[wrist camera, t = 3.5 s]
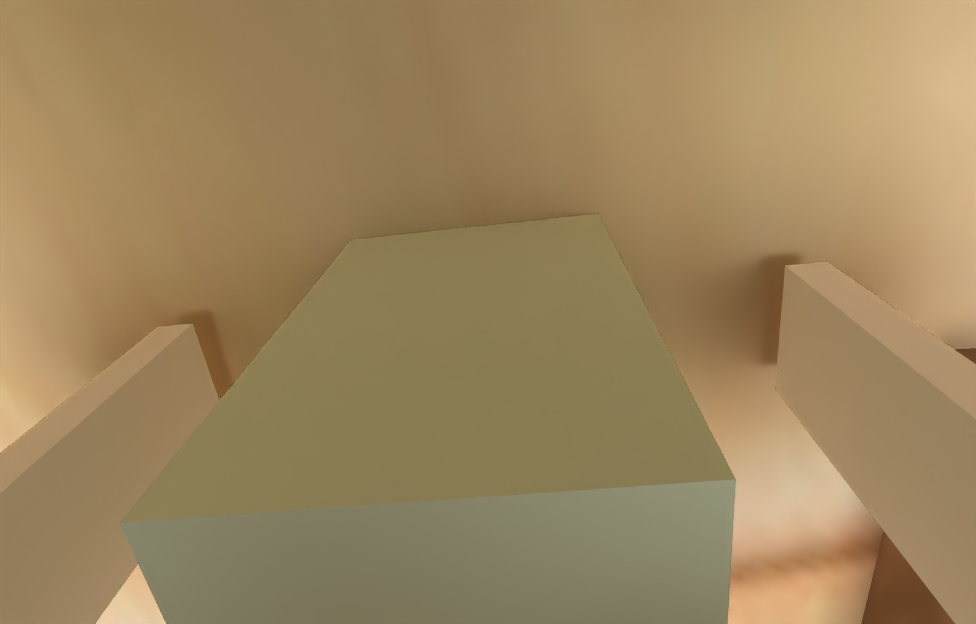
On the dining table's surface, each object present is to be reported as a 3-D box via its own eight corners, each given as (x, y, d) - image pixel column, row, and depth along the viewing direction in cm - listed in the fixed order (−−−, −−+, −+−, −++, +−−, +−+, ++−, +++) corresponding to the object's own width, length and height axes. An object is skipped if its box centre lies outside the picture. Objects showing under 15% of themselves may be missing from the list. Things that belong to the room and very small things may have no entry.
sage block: (350, 239, 12) (118, 522, 5) (597, 213, 12) (735, 480, 5) (394, 441, 14) (275, 855, 7) (607, 424, 14) (714, 844, 7)
